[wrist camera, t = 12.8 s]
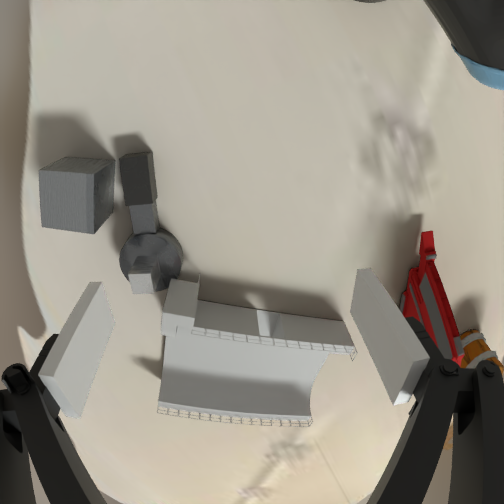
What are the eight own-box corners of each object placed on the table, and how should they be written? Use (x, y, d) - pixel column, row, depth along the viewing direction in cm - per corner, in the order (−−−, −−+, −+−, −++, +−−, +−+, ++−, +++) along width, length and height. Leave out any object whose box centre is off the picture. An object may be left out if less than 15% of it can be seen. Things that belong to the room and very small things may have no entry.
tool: (408, 233, 45) (466, 389, 30) (435, 228, 45) (496, 376, 30) (379, 306, 65) (409, 417, 50) (401, 300, 64) (432, 408, 49)
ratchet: (108, 157, 39) (84, 170, 32) (171, 149, 40) (158, 161, 32) (131, 281, 48) (117, 312, 41) (186, 279, 49) (180, 311, 42)
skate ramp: (161, 380, 59) (155, 423, 50) (174, 267, 48) (162, 311, 38) (302, 396, 64) (311, 436, 55) (354, 298, 52) (376, 340, 43)
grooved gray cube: (65, 157, 38) (115, 160, 39) (65, 206, 42) (113, 212, 43) (38, 170, 32) (94, 174, 33) (41, 226, 35) (94, 234, 36)
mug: (487, 332, 62) (517, 372, 48) (446, 378, 68) (469, 419, 55) (468, 322, 59) (501, 366, 46) (424, 373, 65) (448, 419, 52)
